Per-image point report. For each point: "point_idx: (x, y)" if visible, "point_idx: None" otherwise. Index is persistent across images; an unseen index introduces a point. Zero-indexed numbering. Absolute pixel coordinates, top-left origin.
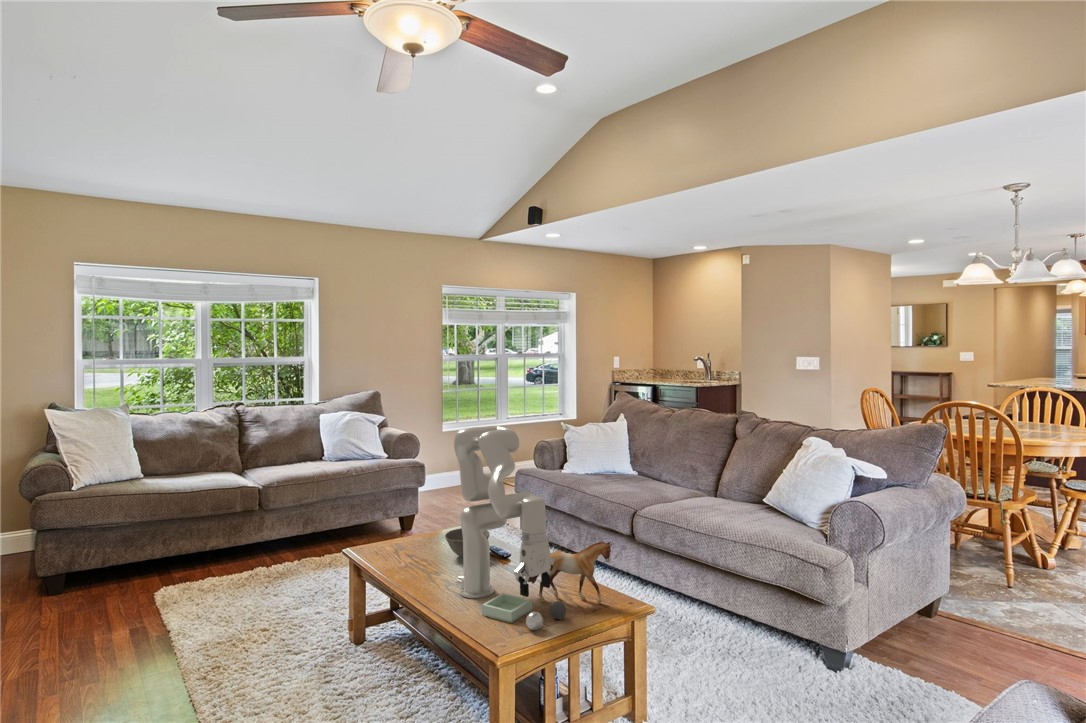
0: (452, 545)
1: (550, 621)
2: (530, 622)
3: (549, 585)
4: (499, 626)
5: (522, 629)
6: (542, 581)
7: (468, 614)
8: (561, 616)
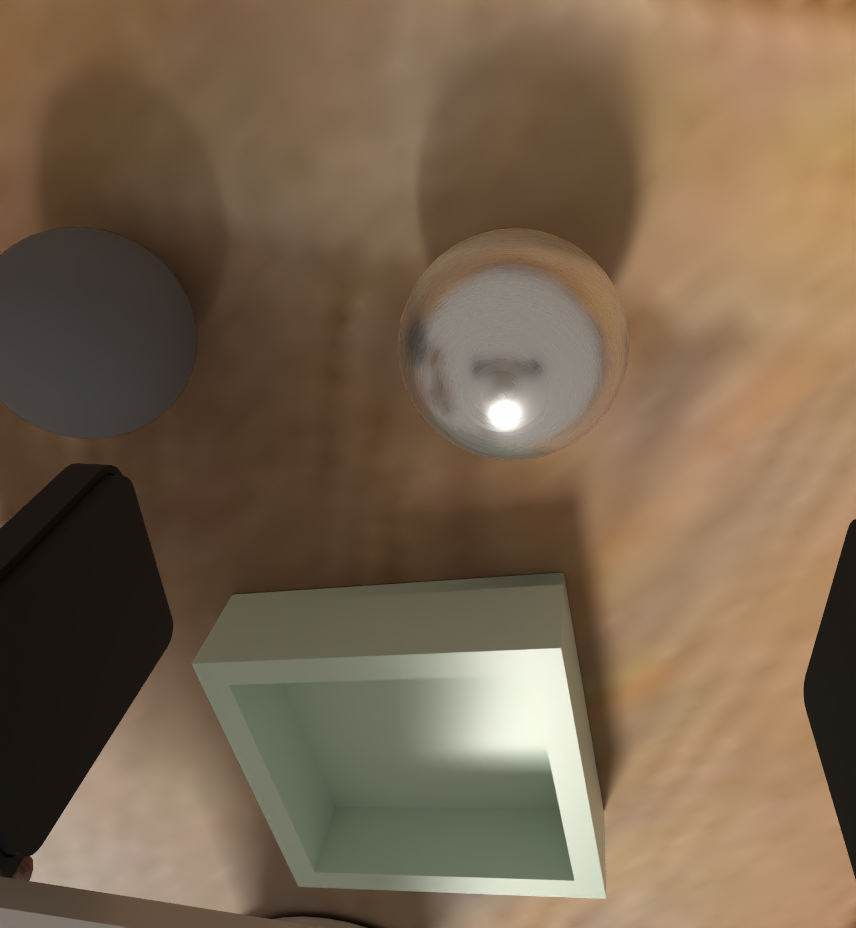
0: None
1: (250, 314)
2: (625, 328)
3: (62, 488)
4: (693, 609)
5: None
6: (115, 688)
7: (659, 878)
8: (124, 237)
